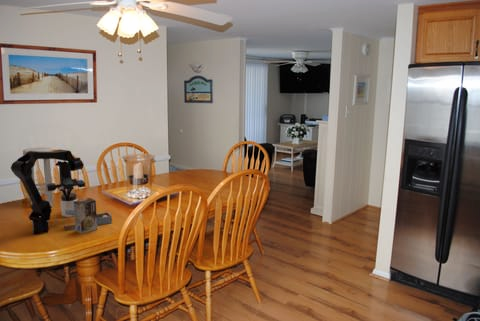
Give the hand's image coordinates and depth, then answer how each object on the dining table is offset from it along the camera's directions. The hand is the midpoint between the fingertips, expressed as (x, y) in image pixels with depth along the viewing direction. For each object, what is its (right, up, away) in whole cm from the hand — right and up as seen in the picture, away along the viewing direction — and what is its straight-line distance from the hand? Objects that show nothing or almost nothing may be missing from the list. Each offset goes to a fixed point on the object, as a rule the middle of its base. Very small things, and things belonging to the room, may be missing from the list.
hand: (67, 200), depth 210 cm
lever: (+7, -7, -2) cm, 10 cm away
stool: (-29, -6, +30) cm, 43 cm away
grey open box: (+19, -12, +2) cm, 23 cm away
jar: (-4, -10, +13) cm, 17 cm away
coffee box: (+15, -15, -10) cm, 23 cm away
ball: (+20, -10, +3) cm, 23 cm away
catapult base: (+9, -13, -4) cm, 17 cm away
